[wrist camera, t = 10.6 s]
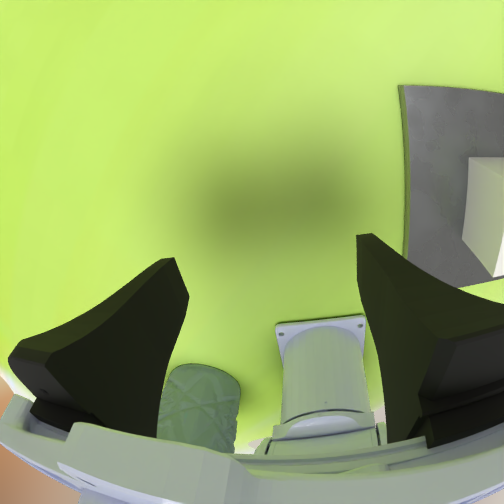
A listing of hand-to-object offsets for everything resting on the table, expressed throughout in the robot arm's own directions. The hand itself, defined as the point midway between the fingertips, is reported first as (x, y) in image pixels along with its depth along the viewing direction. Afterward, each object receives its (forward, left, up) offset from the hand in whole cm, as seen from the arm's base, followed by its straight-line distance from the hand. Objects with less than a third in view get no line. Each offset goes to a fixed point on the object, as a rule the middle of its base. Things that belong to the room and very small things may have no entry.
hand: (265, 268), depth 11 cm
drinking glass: (-22, +12, -10) cm, 27 cm away
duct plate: (-2, -16, -9) cm, 19 cm away
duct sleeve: (-2, -16, -8) cm, 18 cm away
